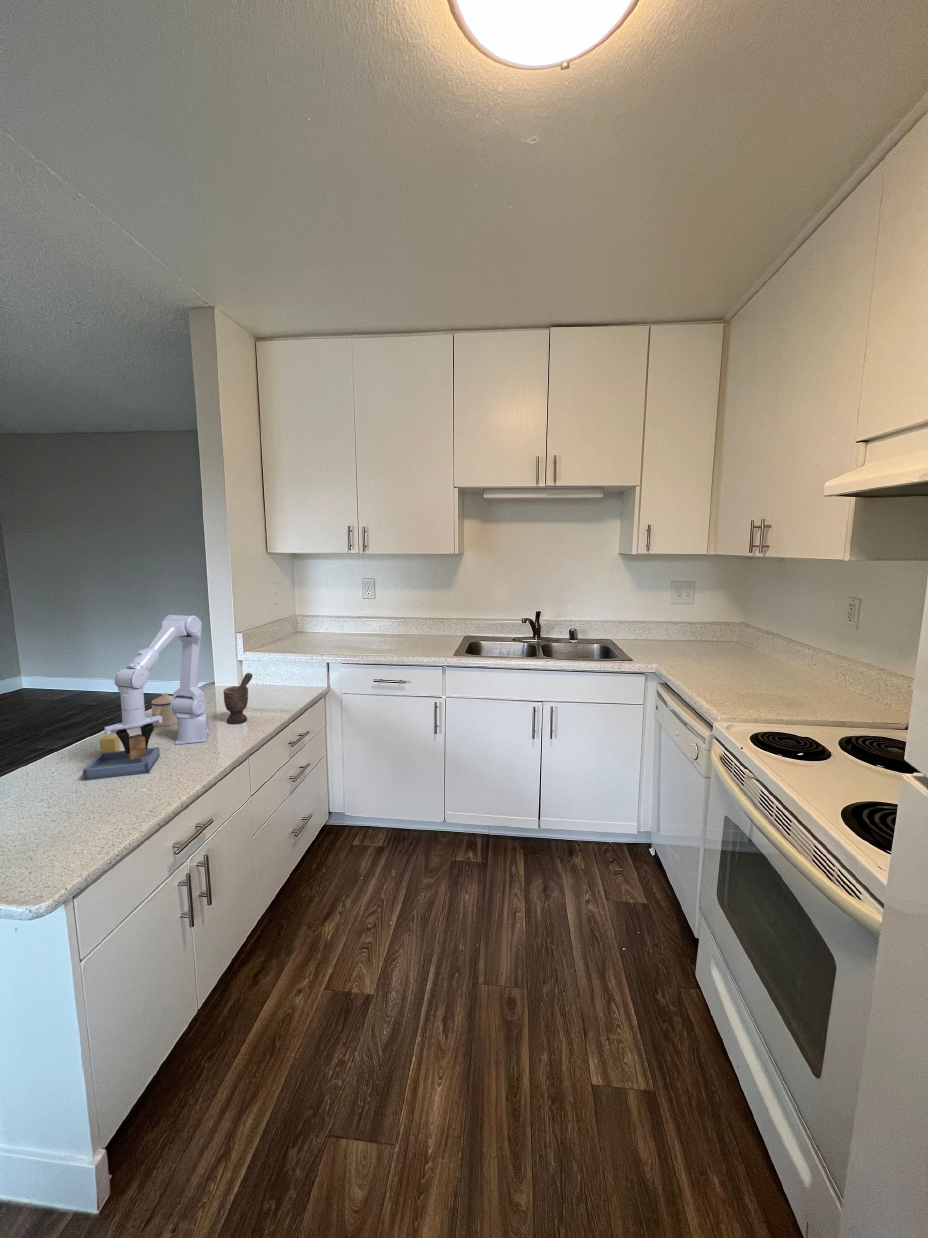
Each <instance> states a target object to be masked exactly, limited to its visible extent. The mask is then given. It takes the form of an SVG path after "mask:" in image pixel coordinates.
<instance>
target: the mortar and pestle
mask: <svg viewBox="0 0 928 1238" xmlns="http://www.w3.org/2000/svg"><path fill="white" fill-rule="evenodd" d="M252 678H253V674H252V673H250V672H246V674H245V675H244V676H243V678H242V679H241V682H240V685H233V686H229V687H225V688H224V689H223V701H224V706H225V709H226V710H227V711H228V712H229V713H230V714H229V715H228V717H227V718H226V724H229V725H237V724H244V723H246V722H247V721H248V717H247V715H246V714H244V710H246V708H247V706H248V702H249V687H248V686H247V685H249V683H250V682H251V680H252Z"/></svg>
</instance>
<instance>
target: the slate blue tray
mask: <svg viewBox="0 0 928 1238" xmlns="http://www.w3.org/2000/svg"><path fill="white" fill-rule="evenodd" d="M160 750H161V749H160V747H159V746H157V747H156V746H154V747H147V749H146V756H144V757H140V758H136V759H132V760H130V759H129V758H128V757H127V754H126V753H125V749H124V750H120V751H114V752H104V753H101V752H99V753H98V754H97V755H96V756H95V757H94V758H93V759H92V761H90V763H89V764H88V765H87V766H86V767H85V768H84V769H83V771H82V775H83V781H84V782H85V781H91V780H102V779H109V778H118V777H129V776H135V775H145V774H149V773H150V772H151V770H152V769H153V767H154V766H155V764H156V763H157V761H158V760H159V758H160V757H161V754H160Z"/></svg>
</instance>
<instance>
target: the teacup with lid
mask: <svg viewBox="0 0 928 1238" xmlns="http://www.w3.org/2000/svg"><path fill="white" fill-rule="evenodd" d="M172 699H173V695H170V694H169V693H167V692H163V693H162V694H161V695H160V696H158V697H157V698H155V699H153V700H151V702H150V705H151V710H152V711H151V712H152V713H151V714H152V717H153V716H159V715H160V716H162V721H163V722H162V723H155V724H153V726H154V727H168V725H169V726H172V725H177V716H175V713H173V712H172V711H171V708H170V704H171V701H172Z"/></svg>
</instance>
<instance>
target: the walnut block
mask: <svg viewBox="0 0 928 1238" xmlns="http://www.w3.org/2000/svg"><path fill="white" fill-rule="evenodd" d="M129 747H130V754H127V757H128V758H129V759H130V760H132V759H136V758H140V757H144V756H146V747H145V737H144V736H143V735H142V734H141V733H139V734H138V733H137V734H133V735H129Z"/></svg>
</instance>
